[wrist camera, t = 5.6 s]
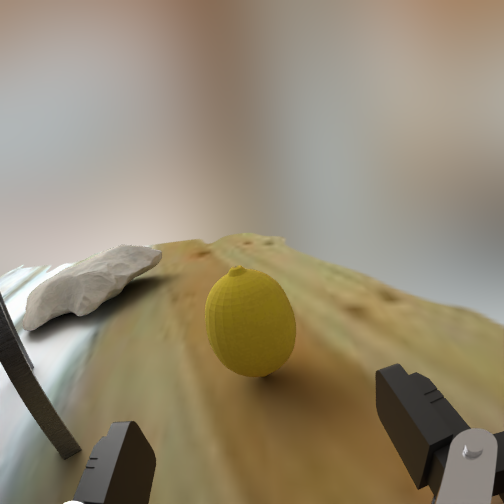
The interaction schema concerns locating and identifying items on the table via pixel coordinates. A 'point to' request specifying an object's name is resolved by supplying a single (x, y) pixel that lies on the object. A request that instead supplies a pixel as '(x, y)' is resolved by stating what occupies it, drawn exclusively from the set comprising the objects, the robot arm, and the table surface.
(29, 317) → the rock
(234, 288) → the lemon
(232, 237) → the table surface
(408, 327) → the table surface
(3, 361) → the trapdoor frame
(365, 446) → the table surface
